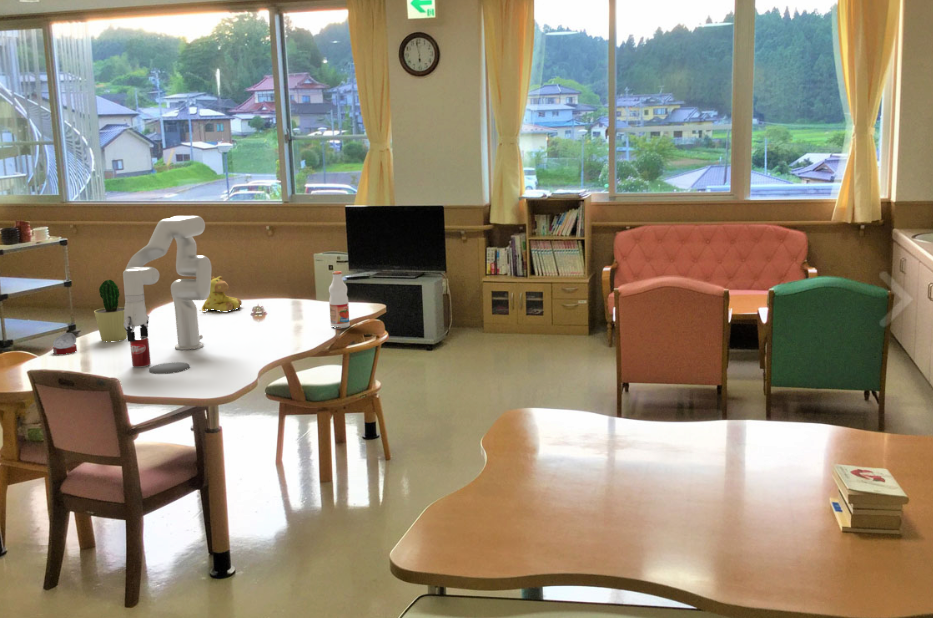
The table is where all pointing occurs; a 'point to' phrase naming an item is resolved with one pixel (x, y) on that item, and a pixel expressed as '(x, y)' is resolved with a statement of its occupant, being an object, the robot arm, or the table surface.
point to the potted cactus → (110, 314)
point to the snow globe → (65, 344)
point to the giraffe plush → (220, 297)
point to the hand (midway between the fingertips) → (138, 339)
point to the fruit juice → (338, 301)
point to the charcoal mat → (169, 367)
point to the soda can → (140, 352)
